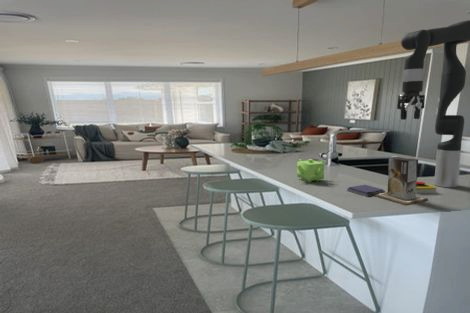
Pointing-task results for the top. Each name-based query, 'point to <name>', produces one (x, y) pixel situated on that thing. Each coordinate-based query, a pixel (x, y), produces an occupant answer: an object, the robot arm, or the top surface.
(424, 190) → the emergency button
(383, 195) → the marked board
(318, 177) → the green knobbed block
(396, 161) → the coffee box
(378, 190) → the ink pad
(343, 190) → the top surface
